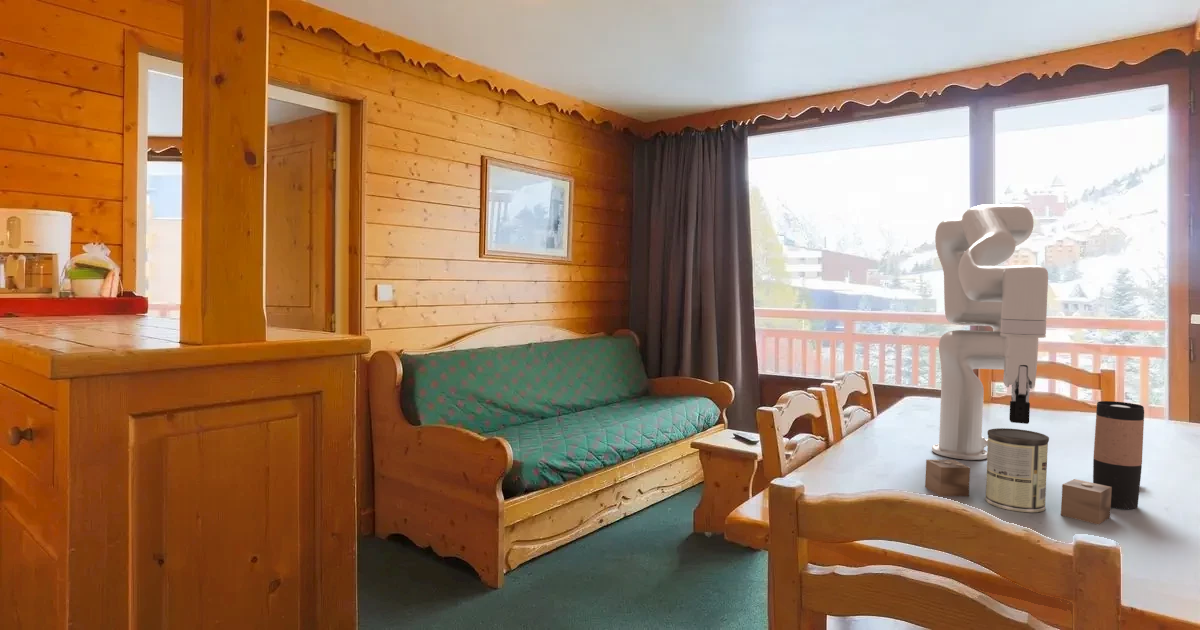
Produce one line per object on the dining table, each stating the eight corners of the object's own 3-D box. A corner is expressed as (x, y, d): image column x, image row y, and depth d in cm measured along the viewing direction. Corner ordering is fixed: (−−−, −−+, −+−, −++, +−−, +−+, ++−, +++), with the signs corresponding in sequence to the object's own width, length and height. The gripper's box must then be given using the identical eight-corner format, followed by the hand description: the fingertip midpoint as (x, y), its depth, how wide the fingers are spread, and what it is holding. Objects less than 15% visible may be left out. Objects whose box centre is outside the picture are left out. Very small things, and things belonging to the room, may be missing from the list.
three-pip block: (952, 487, 144) (954, 458, 144) (968, 496, 138) (970, 466, 138) (925, 487, 144) (926, 458, 144) (940, 496, 138) (941, 466, 138)
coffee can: (982, 492, 140) (985, 425, 139) (1040, 500, 136) (1044, 431, 135) (987, 507, 131) (990, 436, 130) (1050, 516, 127) (1053, 442, 126)
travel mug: (1081, 497, 138) (1086, 400, 137) (1116, 497, 138) (1121, 400, 137) (1113, 510, 130) (1118, 408, 129) (1149, 510, 131) (1155, 408, 130)
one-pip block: (1072, 509, 131) (1074, 478, 131) (1109, 518, 126) (1111, 485, 126) (1060, 515, 127) (1062, 483, 127) (1098, 525, 123) (1100, 491, 122)
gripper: (998, 326, 140) (995, 414, 140) (1002, 330, 127) (998, 426, 127) (1041, 328, 136) (1038, 418, 137) (1050, 331, 123) (1045, 431, 124)
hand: (1019, 422), depth 132 cm, fingers closed
